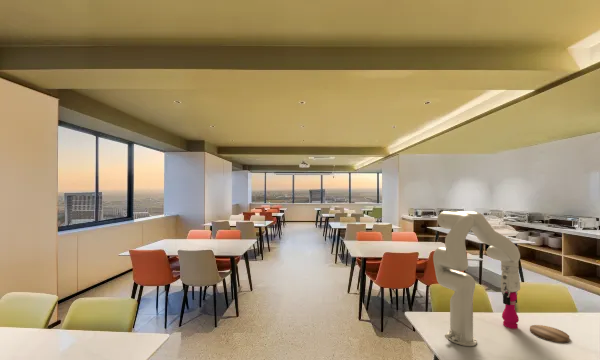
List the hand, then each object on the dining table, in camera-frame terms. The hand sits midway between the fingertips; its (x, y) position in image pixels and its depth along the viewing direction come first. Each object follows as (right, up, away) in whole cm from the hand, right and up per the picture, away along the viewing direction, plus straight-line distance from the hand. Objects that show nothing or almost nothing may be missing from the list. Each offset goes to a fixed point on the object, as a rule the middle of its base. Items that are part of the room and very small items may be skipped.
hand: (510, 302), depth 156 cm
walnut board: (+13, -12, -9) cm, 20 cm away
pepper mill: (0, -12, 0) cm, 12 cm away
